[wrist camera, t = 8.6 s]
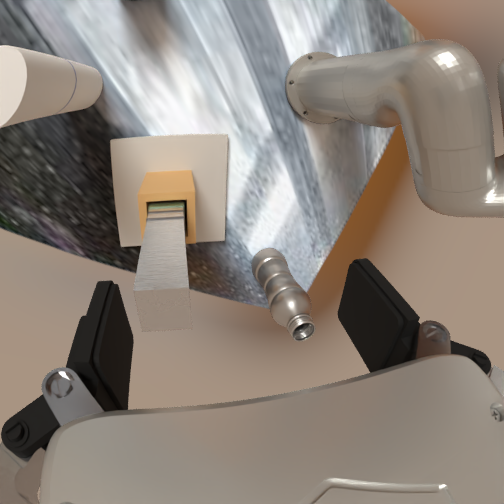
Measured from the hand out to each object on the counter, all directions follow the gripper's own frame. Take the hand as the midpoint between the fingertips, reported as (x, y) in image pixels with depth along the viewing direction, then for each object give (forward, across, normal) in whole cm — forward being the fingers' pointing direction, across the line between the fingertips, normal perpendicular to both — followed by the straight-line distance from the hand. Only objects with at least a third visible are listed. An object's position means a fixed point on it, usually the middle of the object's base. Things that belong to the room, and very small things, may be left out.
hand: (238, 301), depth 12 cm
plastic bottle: (+38, -11, +22) cm, 46 cm away
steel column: (+30, +5, +7) cm, 31 cm away
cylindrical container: (+38, +18, -11) cm, 43 cm away
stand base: (+38, +5, +8) cm, 39 cm away
